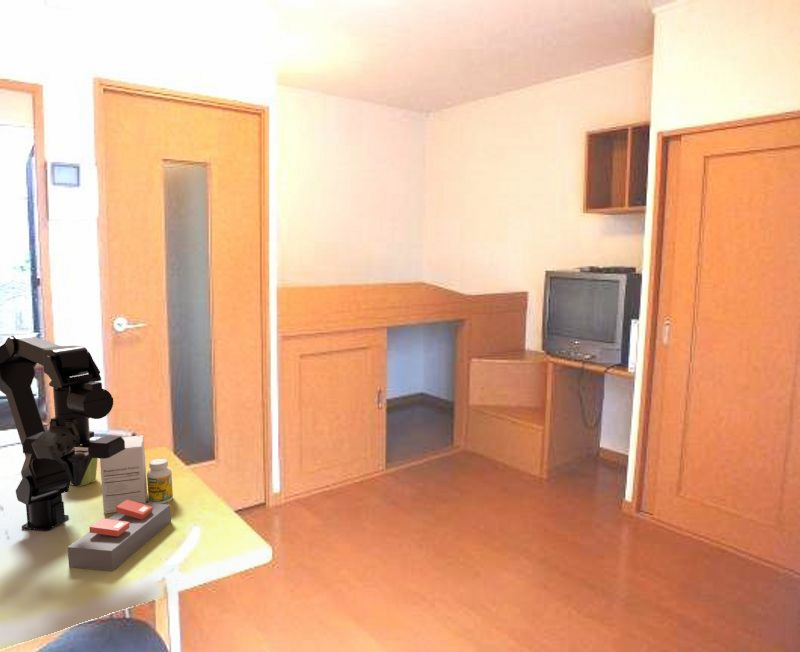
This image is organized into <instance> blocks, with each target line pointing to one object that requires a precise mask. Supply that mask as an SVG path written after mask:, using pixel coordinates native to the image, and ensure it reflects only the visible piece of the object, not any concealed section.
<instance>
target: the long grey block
mask: <svg viewBox="0 0 800 652" xmlns="http://www.w3.org/2000/svg"><path fill="white" fill-rule="evenodd" d="M138 503H141V504H145V505H148V506H152V507H153V509H152V513H150V514H149V515H148V516H146V517H145V518H144V519H142V520H141V519H138V518H134V517H131V516H127V515H124V514H121V513H117V512H115V513H114V514H113V515H111V516H110V517H108V518H107V519H110V520H118V521H126V522H129V528H128V529H127V530H126V531H124V532H123V533H122V534H121V535H119V536H111V535H103V534H96V533H90V531H89V532H87V533H85V534H84V535H83V536H81V537H80V538H79V539H77V540H75V541H74V542H72V543H71V544H69V545H68V546H67V557H68V559H67V561H68V568H73V569H74V568H75V569H85V570H87V569H88V570H94V571H95V570H97V571H106V572H107V571H108V572H114V571H115V570H116V569H117V568H119V566H120V565H122V564H123V563H124V562H126V561H127V560H129V558H130V557H131V556H132V555H134V554H135V553H136V552H137V551H138V550H139V549H141V548H142V547H143V546H144V545H146V544H147V543H148V542H149V541H150V540H152V539H153V538H154V537H155V536H156V535H157V534H159V533H160V532H161V531H162V530H163V529H165V528H166V527H167V526H169V524H171V523H172V514H171V513H172V512H171V504H167V503H163V504H156V503H150V502H146V503H143V502H138Z"/></svg>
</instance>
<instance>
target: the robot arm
mask: <svg viewBox="0 0 800 652" xmlns="http://www.w3.org/2000/svg"><path fill="white" fill-rule="evenodd" d="M37 365H41V366H42V367H43V369H42V370H43V373H44V374H46V375H47V377H49V379H50V381H49V384H48V385H49V387H52V390H53V404H54V405H53V406H54V417H51V418H50V420H49V428H48V429H47V430H46V429H45V427H44V422H43V419H42V417H41V413H40V411H39V408H38V404H37V401H36V399H35V395H34V393H33V389H32V384H33V382H34V378H35V376H36V371H35V367H36V366H37ZM100 373H101V371H100V369H99V368H98V366H97V364H96V362H95V361H94V359H93V356H92V355H91V353H90V352H89V351H88V349H87V348H86V347H85V346H83V345H63V346H62V345H58V344H55V343H53V342H50V341H47V340H45V339H42V338H40V337H37V335H36V334H32V333H27V334H19V335H12V336H10V337H7V338H6V340H5V342H4V343H3V344H1V345H0V392H1V393H3V394H4V395H6V399H7V403H8V406H9V410H10V413H11V415H12V418H13V421H14V424H15V425H14V426H15V429H16V430H17V434H18V437H19V441H20V444H21V447H22V453H23V454H24V456H25V459H24V461H23V464H22V468H21V471H20V474H21V478H22V479H21V480H20V481H19V484H18V486H17V487H16V489H15V495H16V498H17V501H18V502H21V503H22V504H24V505H25V508H26V509H25V510H26V511H25V512H26V523H23V524H22V525H21V529H22V530H23V529H24V530H35V531H49V530H51V529H53V528H55V527H56V526H58V525H59V524H61V523H62V522H64V521H66V520H67V519H69V514H65V503H64V501H63V494H65V493H68V492H70V486H73V487H80V486H79V485H80V484H81V482H82V480H83V477H84V475H85V472H86V470H87V468H88V465H89V463H90V461H91V460H92V458H98V459H100V458H102V459H105V458H109V457H111V456H113V455H115V454H117V453H119V452H120V451H122V450H124V449H125V441H124V439H123V438H122V436H119V435H106V434H105V435H103V436H102V437H100V438H97V439H95V440H93V439H91V438H94V437H95V432H94V431H91V430H90V419H93V420H100V419H102V418H105V417H106V416H108V415H109V413H110V412H111V411H112V409H113V406H114V398H113V396H112V394H111V393H110V391H108V390H107V389H104V388H103V384H102V382H100V381H102V377H101V375H100ZM81 444H82V445H81ZM70 481H71V483H72V485H70Z"/></svg>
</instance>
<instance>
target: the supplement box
mask: <svg viewBox="0 0 800 652" xmlns="http://www.w3.org/2000/svg"><path fill="white" fill-rule="evenodd" d="M121 437H122V436H121ZM144 437H145V436H144V435H143V434H142V435H134V436H133V435H132V436H123V437H122V438H123V439H124V441H125V449H124V450H122V451H120V452H119V453H117V454H115V455H113V456H111V457H109V458H105V459H102V458H99V460H100V462H99V463H100V465H99V466H100V478H101V493H102V495H101V496H102V505H103V506H102V507H103V509H102V510H103V514H104V515H106V514H112V513H117V512H116V507H117V506H118V505H120V504H121V503H122V502H124V501H125V500H127V499H128V500H131V501H134V502H143V503H147V497H148V483H147V467H146V453H145V438H144Z"/></svg>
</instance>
